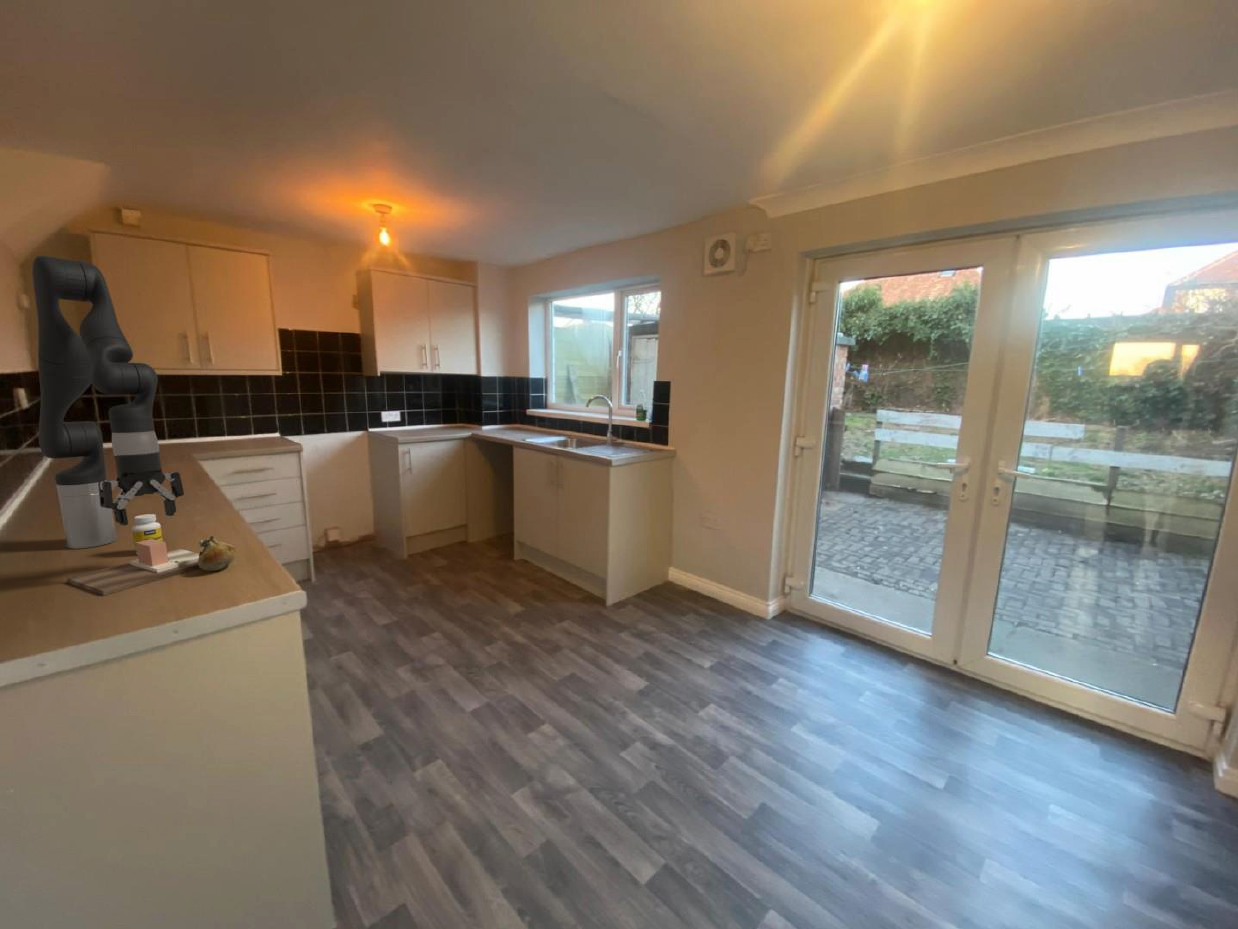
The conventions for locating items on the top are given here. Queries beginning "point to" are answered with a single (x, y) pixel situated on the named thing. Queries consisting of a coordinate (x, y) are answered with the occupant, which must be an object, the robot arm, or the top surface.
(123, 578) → the board
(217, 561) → the onion
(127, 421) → the robot arm
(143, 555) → the pink and white block
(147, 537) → the supplement bottle
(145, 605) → the top surface
